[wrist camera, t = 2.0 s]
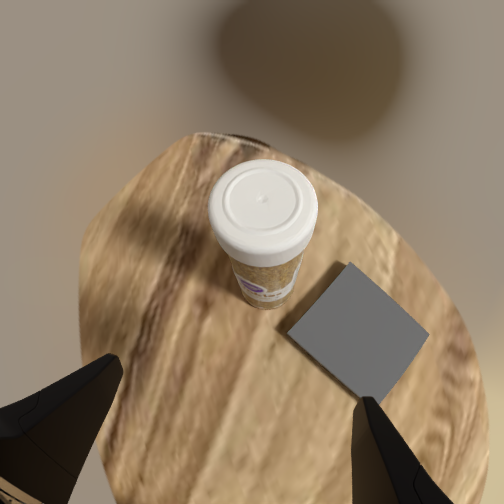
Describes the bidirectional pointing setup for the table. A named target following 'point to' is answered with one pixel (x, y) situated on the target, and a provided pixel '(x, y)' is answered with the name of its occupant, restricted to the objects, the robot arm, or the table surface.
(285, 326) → the table surface
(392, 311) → the slate tile
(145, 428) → the table surface
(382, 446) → the robot arm
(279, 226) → the sprinkles bottle
